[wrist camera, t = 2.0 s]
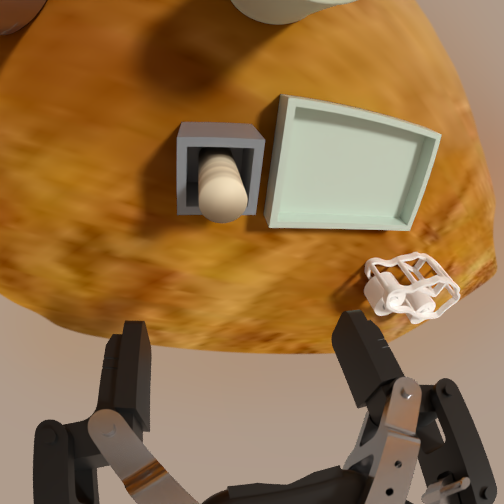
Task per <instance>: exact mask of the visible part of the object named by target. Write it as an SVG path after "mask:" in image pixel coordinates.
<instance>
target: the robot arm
mask: <svg viewBox="0 0 504 504" xmlns="http://www.w3.org/2000/svg"><path fill="white" fill-rule="evenodd" d="M45 2H46V0H0V35H8V34H11V33H14V32H16V31H18V30H20V29H21V28H23V27H24V26H25V25H27V24H28V23H29V22H30V21H31V20H32V19H33V18H34V17H35V16H36V14H37V13H38V12H39V11H40V9H41V8H42V7H43V5H44V4H45ZM332 346H333V348H334V351H335V353H336V356H337V358H338V361H339V363H340V365H341V368H342V370H343V373H344V375H345V378H346V380H347V383H348V385H349V388H350V390H351V393H352V395H353V398H354V401H355V403H356V406H357V408H361V407H365V406H367V408H368V411H367V413H366V415H365V418H364V421H363V424H362V427H361V431H360V433H359V436H358V439H357V442H356V445H355V448H354V450H353V451H352V452H351V454H350V455H349V456H348V458H347V460H346V462H345V464H344V466H343V469H341V468H340V466H335V467H332V468H328V469H325V470H321V471H317V472H314V473H312V474H310V475H308V476H306V477H304V478H302V479H300V480H297V481H295V482H293V483H291V484H288V485H280V484H263V483H254V484H246V485H237V486H228V487H227V490H224V491H221V492H219V493H216V494H214V495H213V496H211V497H209V498H208V499H206V500H205V501H204V502H203V503H202V504H413V503H411V502H409V501H407V500H406V498H407V495H408V491H409V488H410V485H411V481H412V477H413V474H414V470H415V466H416V462H417V457H418V460H419V463H420V466H421V469H422V473H423V476H424V479H425V482H426V486H427V490H426V492H425V493H424V494H423V495H422V499H421V500H422V502H423V503H425V504H493V502H494V501H495V498H496V495H497V486H496V483H495V480H494V477H493V474H492V470H491V467H490V464H489V461H488V459H487V456H486V453H485V450H484V447H483V445H482V442H481V439H480V437H479V434H478V432H477V430H476V427H475V424H474V422H473V420H472V417H471V415H470V413H469V410H468V408H467V406H466V404H465V402H464V399H463V397H462V395H461V393H460V391H459V389H458V387H457V385H456V384H455V383H454V382H453V381H452V380H450V379H447V378H443V379H441V380H439V381H438V382H437V383H436V384H435V385H419V384H418V383H417V382H416V381H415V380H413V379H412V378H409V377H405V376H404V374H403V372H402V370H401V368H400V366H399V364H398V362H397V361H396V359H395V357H394V355H393V353H392V351H391V349H390V347H388V343H387V342H386V340H384V336H383V334H382V332H381V331H380V329H379V328H378V327H377V326H376V325H375V324H374V323H373V322H372V321H371V320H369V321H367V319H366V317H365V315H364V313H363V312H362V311H361V310H352V311H344V312H343V313H342V314H341V316H340V318H339V320H338V323H337V325H336V327H335V329H334V331H333V333H332ZM102 367H103V369H102V373H101V380H100V387H99V396H98V403H97V407H96V410H95V412H94V413H93V414H92V415H91V416H90V417H89V418H88V419H86V420H84V421H80V422H75V423H70V424H65V425H62V424H61V423H59V422H58V421H55V420H45V421H43V422H41V423H40V424H39V425H38V426H37V428H36V431H35V438H34V455H33V496H34V504H99V494H98V482H97V468H98V467H104V466H109V465H110V466H111V467H112V469H113V470H114V471H115V473H116V474H117V475H118V477H119V478H120V479H121V481H122V482H123V483H124V485H125V488H126V490H127V491H128V493H129V494H130V496H131V497H132V498H133V499H134V500H135V502H136V503H137V504H199V503H198V502H197V501H196V500H195V499H194V498H193V497H192V496H191V495H190V494H188V492H186V491H185V489H184V488H182V486H181V485H180V484H179V483H178V482H177V481H175V479H174V478H173V477H172V476H171V475H170V474H169V473H168V472H167V471H166V470H165V469H164V467H163V466H162V465H161V464H160V463H159V462H158V461H157V460H156V459H155V457H154V456H153V455H152V454H151V453H150V452H149V451H148V449H147V448H146V447H145V446H144V444H143V431H146V432H150V380H151V345H150V341H149V337H148V333H147V329H146V324H145V321H125V323H124V328H123V334H113V335H112V337H111V338H110V340H109V341H108V343H107V344H106V348H105V355H104V360H103V366H102ZM436 418H438V419H439V422H440V424H441V427H442V429H443V432H444V434H445V438H446V441H445V443H444V441H443V439H442V436H441V434H440V431H439V429H438V426H437V424H436V421H435V419H436Z"/></svg>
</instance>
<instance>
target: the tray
mask: <svg viewBox="0 0 504 504" xmlns="http://www.w3.org/2000/svg"><path fill="white" fill-rule="evenodd" d="M440 139H441V134H439V133H437V132H435V131H433V130H431V129H429V128H426V127H423V126H420V125H417V124H414V123H411V122H408V121H405V120H401V119H398V118H395V117H391V116H388V115H384V114H380V113H377V112H373V111H369V110H365V109H361V108H356V107H352V106H348V105H343V104H338V103H333V102H328V101H323V100H317V99H311V98H305V97H298V96H292V95H284V94H280V100H279V107H278V115H277V122H276V129H275V136H274V144H273V151H272V158H271V165H270V172H269V179H268V186H267V194H266V201H265V208H264V217H265V219H266V222H267V224H268V226H269V228H325V229H368V230H400V231H410V229H411V226H412V224H413V221H414V218H415V216H416V213H417V211H418V208H419V205H420V202H421V200H422V197H423V194H424V191H425V188H426V185H427V182H428V179H429V176H430V173H431V170H432V167H433V163H434V160H435V157H436V153H437V150H438V146H439V143H440Z"/></svg>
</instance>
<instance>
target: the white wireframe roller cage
mask: <svg viewBox="0 0 504 504" xmlns="http://www.w3.org/2000/svg"><path fill="white" fill-rule="evenodd" d="M416 258H420V259H419V260H418V262H417V263H416V264H415V265H414V266H413V267H412V266H410V265H408V264H406V263H404V261H411V260H414V259H416ZM426 261H427V263H428V264H429V265H430V266H431V267H432V268H433V270H434V271H435V272H436V273H437V275H435V276H433V277H431V278H428V279H425V278H424V277H423V276H422V275H421V273H420V272H419V271H418V270H419V269H420V268H421V267H422V265H423V264H424V263H425V262H426ZM375 264H380V265H383V266H387V267H391V266H395V265H397V264H398V266H399V267H400V268H401V270H402V271H403V272H404V274H405V275H406V276H407V278H408V279H409V280H410V282H411V283H412V284H411V285H409V286H403V285H400V284H399V283H398V281H397V280H396V278H395V277H394V276H393V274H391V273H390V272H382V273H380V272H379V271H378V270H377V268H376V267H375ZM370 270H372V272H373V273H374V275H375V276H374V277H371V276H370ZM409 270H410V271H412V272H414V273H415V274H416V276H417V277H418V278H419V281H416V279H415V278H414V277H413V276H412V274H411V273H410V272H409ZM365 274H366V276H367V277H368V279H369V281H368V283H367V284H366V286H365V288H364V294H365V296H366V298H367V300H368V301H369V303H370V305H371V306H372V308H373V310H374V312H375V313H376V314H377V315H378V316H384V315H388V314H390V313H392V312H395V313H405V314H406V315H407V317H408V318H409V320H410V322H411V323H412V324H417V323H420V322H422V321H424V320H426V319H434V318H438V317H440V316H441V315H442V314H443V313H444V312H445V311H446V310H447V309H448V308H449V307H451V306H452V305H453V304H455V303H456V302H457V301H458V300H459V298H460V294H459V291H460V288H459V286H458V285H457V284H456V283H455V282H454V281H453V280H452V279H451V278H450V276H449V275H448V274H447V273H446V272H445V271H444V269H443V268H442V267H441V266H440V265H439V263H438V262H437V261H435V260H434V259H433V258H432V257H430V256H429V255H426V254H424V253H422V254H420V253H418V252H413V253H411V254H408V255H401V256H398V257H395V258H393V259H391V260H383V259H380V258H371V259H369V260H368V261H367V262H366V263H365ZM438 282H439V283H438ZM436 283H438V284H437V285H436V286H435V287H434V289H432V288H431V286H432V285H434V284H436ZM448 284H450V285H451V286H452V287H453V288H454V291H453V290H452V288H451V287H450V286H449V285H448ZM444 287H446V289H447V290H448V291H449V293H450V294H451V295H452V296H453V297H452V298H451V299H449V300H448V301H447V302H446V303H445V304H443V305H442V306H441V307H440V308H439V309H438V310H437V311H436V312H433V311H434V309H435V306H436V305H435V302H434V301H433V300H432V298H431V297H430V296H432V297H436V296H437V295H438V294H439V293H440V291H441V290H442V289H443V288H444ZM429 295H430V296H429Z"/></svg>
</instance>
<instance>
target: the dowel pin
mask: <svg viewBox="0 0 504 504" xmlns="http://www.w3.org/2000/svg"><path fill="white" fill-rule="evenodd" d="M198 191H199V208H200V211H201V212H202V214H203V215H204V216H205V217H206V218H207V219H209V220H210V221H213V222H216V223H228V222H231V221H234V220H236V219H237V218H239V217H240V216H241V215H242V214H243V212H244V211H245V209H246V206H247V201H248V199H247V194H246V191H245V188H244V186H243V183H242V180H241V177H240V174H239V172H238V169H237V166H236V163H235V161H234V158H233V155H232V152H231V150H230V148H229V147H203V148H202V149H201V150H200V152H199V156H198Z"/></svg>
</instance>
